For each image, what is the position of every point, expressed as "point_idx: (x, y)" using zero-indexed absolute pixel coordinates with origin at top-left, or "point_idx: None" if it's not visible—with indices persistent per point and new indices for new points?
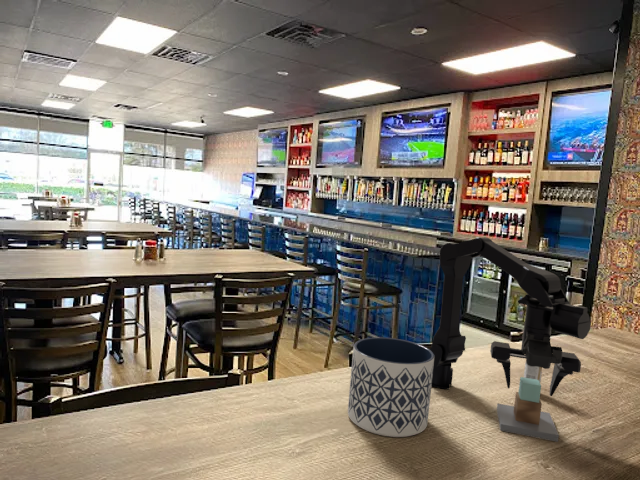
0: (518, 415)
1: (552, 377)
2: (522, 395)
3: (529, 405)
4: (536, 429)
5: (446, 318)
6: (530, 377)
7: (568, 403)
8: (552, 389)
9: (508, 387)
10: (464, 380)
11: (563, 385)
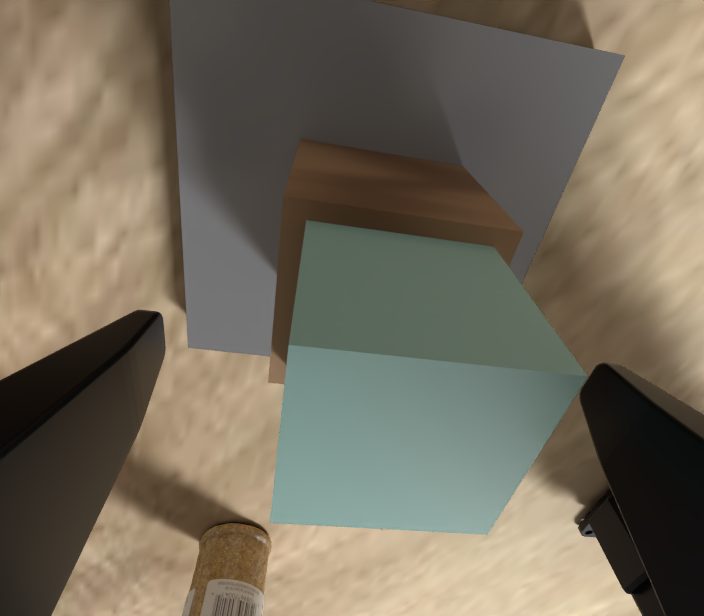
0: (458, 177)
1: (45, 584)
2: (495, 266)
3: (403, 197)
4: (345, 35)
5: None
6: (236, 608)
7: None
8: (103, 354)
9: (619, 368)
10: (497, 549)
11: (94, 603)
